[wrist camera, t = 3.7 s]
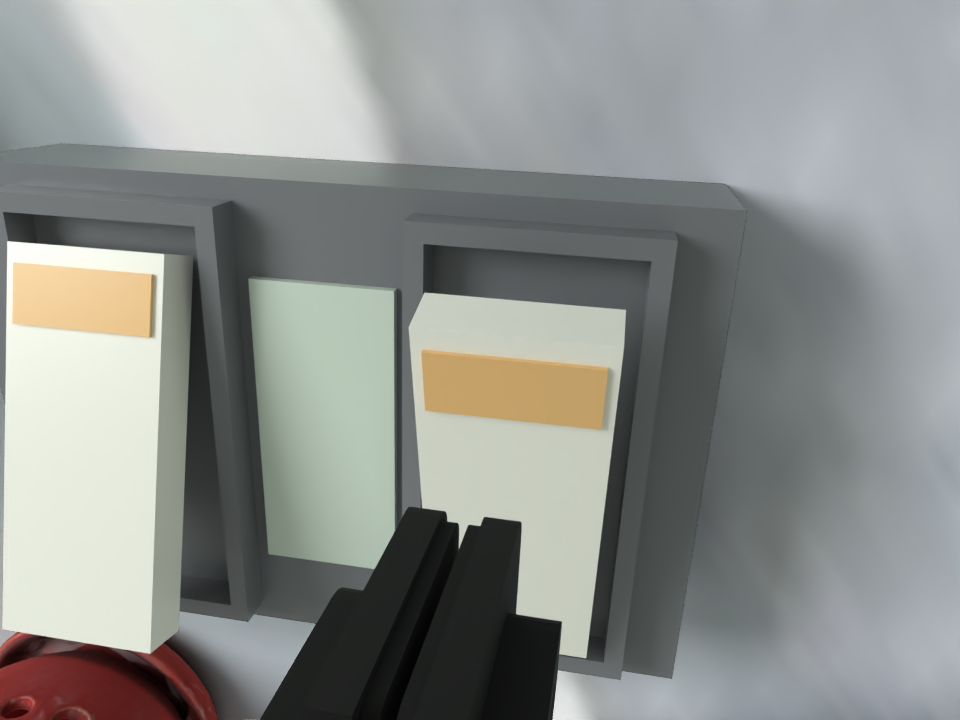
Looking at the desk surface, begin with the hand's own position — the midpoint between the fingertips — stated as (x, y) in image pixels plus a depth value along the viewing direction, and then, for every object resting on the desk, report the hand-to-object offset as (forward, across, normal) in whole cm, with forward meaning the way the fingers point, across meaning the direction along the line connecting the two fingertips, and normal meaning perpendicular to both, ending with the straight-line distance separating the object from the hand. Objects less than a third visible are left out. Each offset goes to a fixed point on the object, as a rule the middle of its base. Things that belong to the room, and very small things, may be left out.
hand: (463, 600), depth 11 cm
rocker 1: (+10, +14, +4) cm, 17 cm away
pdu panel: (+17, +9, +4) cm, 20 cm away
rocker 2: (+10, 0, +4) cm, 11 cm away
